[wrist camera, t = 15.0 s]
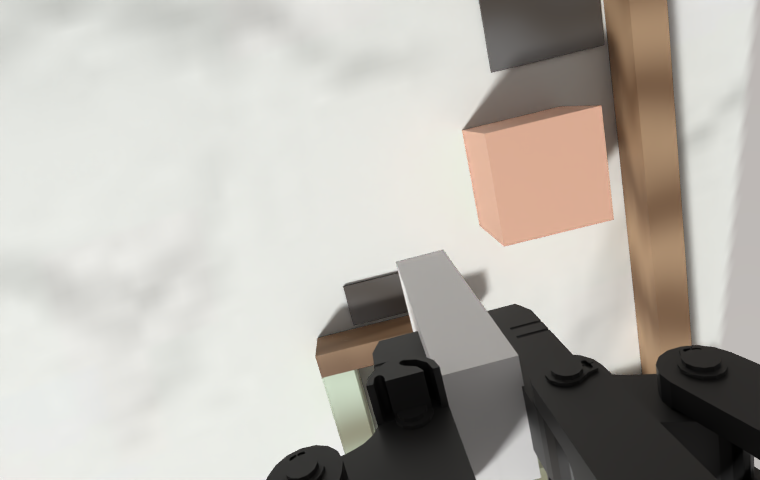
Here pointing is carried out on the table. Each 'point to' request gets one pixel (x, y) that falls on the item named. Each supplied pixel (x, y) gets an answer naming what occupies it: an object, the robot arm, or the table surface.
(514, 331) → the robot arm
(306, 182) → the table surface
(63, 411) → the table surface
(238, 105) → the table surface
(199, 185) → the table surface
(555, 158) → the block
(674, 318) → the trap box
